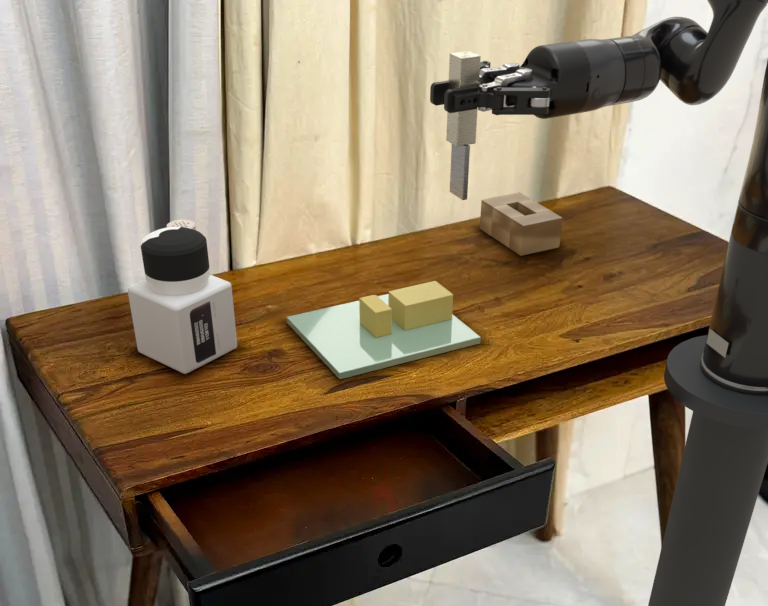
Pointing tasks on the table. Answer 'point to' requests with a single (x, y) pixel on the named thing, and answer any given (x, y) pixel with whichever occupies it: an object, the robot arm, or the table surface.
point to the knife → (462, 120)
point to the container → (181, 302)
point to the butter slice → (375, 315)
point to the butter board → (374, 339)
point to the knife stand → (520, 223)
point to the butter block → (420, 305)
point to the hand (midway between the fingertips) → (439, 98)
